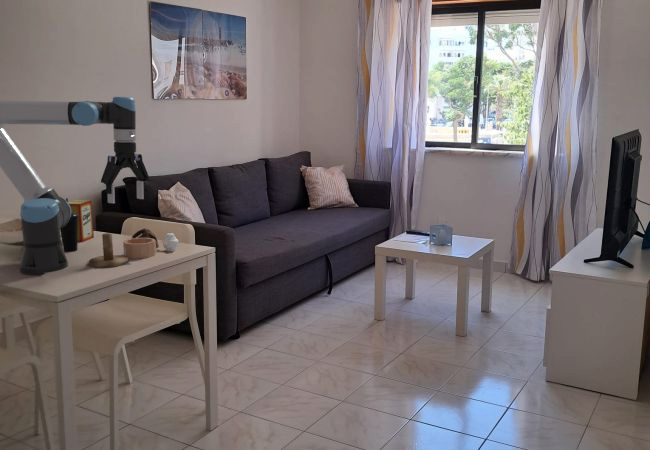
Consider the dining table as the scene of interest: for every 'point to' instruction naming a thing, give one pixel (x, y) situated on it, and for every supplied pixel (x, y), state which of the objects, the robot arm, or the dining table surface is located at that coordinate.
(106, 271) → the dining table surface
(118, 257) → the walnut lid
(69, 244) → the drinking cup
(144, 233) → the pottery mug
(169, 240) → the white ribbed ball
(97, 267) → the grey mat
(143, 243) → the terracotta bowl
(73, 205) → the baking soda box
